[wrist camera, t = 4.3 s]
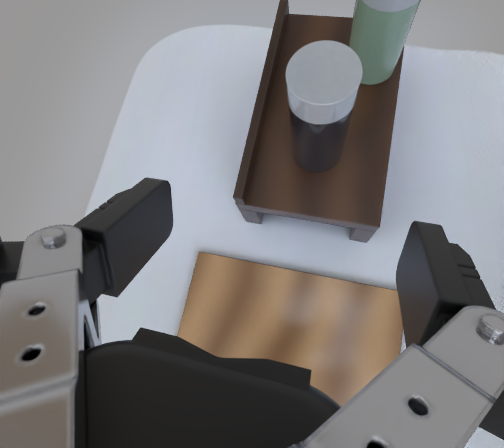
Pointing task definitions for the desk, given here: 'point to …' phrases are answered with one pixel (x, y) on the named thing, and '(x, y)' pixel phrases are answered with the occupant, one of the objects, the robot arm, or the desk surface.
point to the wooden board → (293, 321)
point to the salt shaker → (380, 35)
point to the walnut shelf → (279, 142)
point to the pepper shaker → (321, 102)
